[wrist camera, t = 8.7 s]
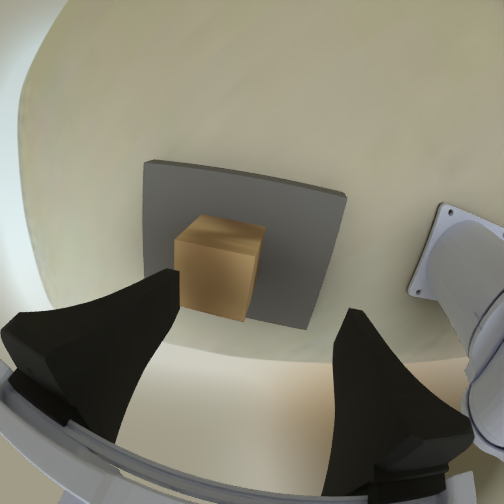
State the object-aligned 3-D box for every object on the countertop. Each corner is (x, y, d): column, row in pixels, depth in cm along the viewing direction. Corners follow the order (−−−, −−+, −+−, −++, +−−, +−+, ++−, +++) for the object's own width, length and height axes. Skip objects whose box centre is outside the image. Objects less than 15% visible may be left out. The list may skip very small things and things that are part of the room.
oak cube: (266, 226, 18) (255, 256, 14) (255, 283, 20) (243, 322, 16) (201, 214, 19) (174, 239, 15) (197, 270, 21) (174, 304, 17)
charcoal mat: (343, 192, 18) (347, 198, 16) (306, 318, 23) (306, 329, 21) (154, 159, 19) (143, 162, 18) (153, 282, 24) (145, 290, 23)
